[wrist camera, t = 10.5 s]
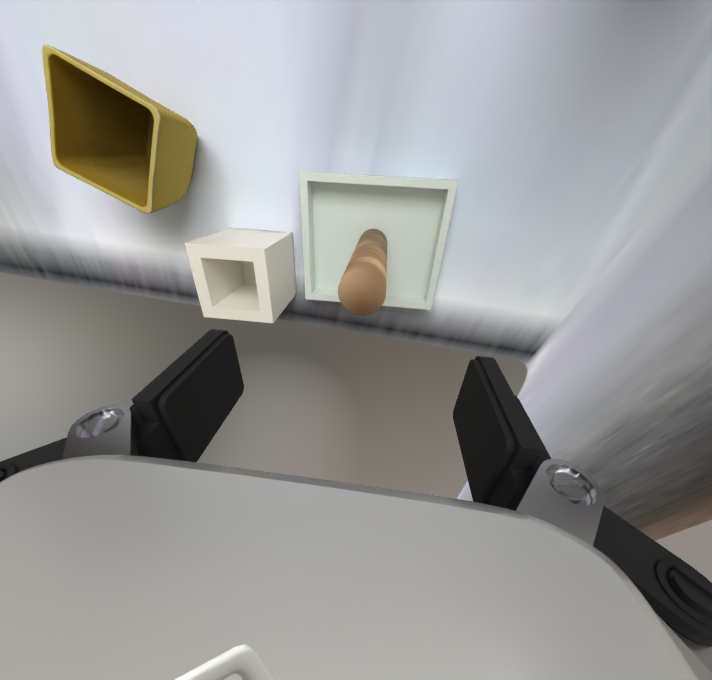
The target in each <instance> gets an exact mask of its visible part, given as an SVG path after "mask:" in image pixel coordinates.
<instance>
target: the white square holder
mask: <svg viewBox="0 0 712 680" xmlns="http://www.w3.org/2000/svg"><path fill="white" fill-rule="evenodd" d="M184 244H185V247H186V251H187V255H188V259H189V263H190V266H191V270H192V274H193V278H194V281H195V285H196V289H197V293H198V297H199V300H200V304H201V308H202V311H203V315H204V317H211V318H221V319H232V320H243V321H253V322H266V323H274V322H275V321H276V319H277V318H278V317H279V315H280V314H281V313H282V312H283V310H284V309H285V308H286V306H287V305H288V304H289V302H290V301H291V300H292V299H293V297H294V296H295V295H296V278H295V262H294V247H293V232H281V231H268V230H254V229H240V228H228V229H225V230H222V231H219V232H216V233H213V234H210V235H207V236H204V237H201V238H198V239H195V240H192V241H189V242H186V243H184Z"/></svg>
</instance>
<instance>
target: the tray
mask: <svg viewBox="0 0 712 680" xmlns="http://www.w3.org/2000/svg"><path fill="white" fill-rule="evenodd" d="M299 180H300V201H301V221H302V241H303V261H304V282H305V299H311V300H322V301H333V302H340V300H339V297H338V286H339V283H340V281H341V278H342V276H343V274H344V272H345V270H346V267H347V265H348V263H349V261H350V259H351V256H352V254H353V252H354V250H355V248H356V245H357V243H358V241H359V239H360V237H361V235H362V234H363V233H364V232H365V231H367V230H369V229H378V230H380V231H381V232H383V233H384V235H385V236H386V239H387V278H386V298H385V301H384V303H383V305H382V306H391V307H402V308H414V309H425V310H431V309H432V304H433V300H434V295H435V290H436V285H437V281H438V276H439V271H440V266H441V262H442V257H443V252H444V247H445V243H446V238H447V233H448V228H449V224H450V219H451V214H452V209H453V205H454V200H455V195H456V190H457V186H458V181H457V180H442V179H425V178H408V177H391V176H374V175H357V174H340V173H323V172H305V171H299Z"/></svg>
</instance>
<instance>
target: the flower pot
mask: <svg viewBox="0 0 712 680" xmlns="http://www.w3.org/2000/svg"><path fill="white" fill-rule="evenodd" d="M42 54H43V65H44V74H45V81H46V91H47V98H48V107H49V119H50V139H51V153H52V158H53V163H54V165H55V166H56V167H57V168H58V169H60V170H62V171H64V172H66V173H68V174H70V175H72V176H74V177H76V178H77V179H80V180H82V181H84V182H86V183H88V184H90V185H92V186H93V187H95V188H97V189H99V190H101V191H103V192H105V193H107V194H109V195H111V196H113V197H115V198H117V199H119V200H121V201H122V202H124V203H126V204H128V205H130V206H132V207H134V208H136V209H138V210H140V211H142V212H144V213H147V214H150V213H152V212H155V211H157V210H160V209H162V208H165V207H167V206H169V205H171V204H174V203H176V202H177V201H179V200H180V199H181V198H182V197H183V196H184V195H185V193H186V192H187V190H188V187H189V185H190V181H191V178H192V171H193V163H194V157H195V151H196V145H197V132H196V129H195V128H194V126H193V125H192V124H191V123H190V122H189V121H188V120H186V119H185V118H183V117H182V116H180V115H178V114H176V113H174V112H173V111H171V110H169V109H167V108H166V107H164V106H162V105H160V104H159V103H157V102H155V101H153V100H152V99H150V98H148V97H147V96H145V95H143V94H142V93H140V92H138V91H137V90H135V89H133V88H132V87H130V86H128V85H127V84H125V83H123V82H122V81H120V80H119V79H117V78H115V77H113V76H112V75H110V74H108V73H106V72H104V71H102V70H100V69H98V68H96V67H94V66H92V65H90V64H88V63H86V62H84V61H82V60H79V59H77V58H75V57H73V56H71V55H69V54H67V53H65V52H63V51H60V50H58V49H56V48H54V47H52V46H49V45H43V49H42Z"/></svg>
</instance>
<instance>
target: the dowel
mask: <svg viewBox="0 0 712 680" xmlns="http://www.w3.org/2000/svg"><path fill="white" fill-rule="evenodd" d="M386 278H387V239H386V236H385V235H384V233H383V232H381V231H380V230H378V229H369V230H367V231H365V232H364V233H363V234H362V235H361V237H360V239H359V241H358V243H357V245H356V248H355V250H354V252H353V254H352V256H351V259H350V261H349V263H348V265H347V267H346V270H345V272H344V274H343V276H342V278H341V281H340V283H339V286H338V297H339V300H340V302H341V304H342V305H343V306H344V307H345V308H346V309H347V310H348V311H350V312H352V313H354V314H358V315H367V314H371V313H373V312H375V311H377V310H378V309H379V308H380V307H381V306H382V305H383V303H384V301H385V298H386Z"/></svg>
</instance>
